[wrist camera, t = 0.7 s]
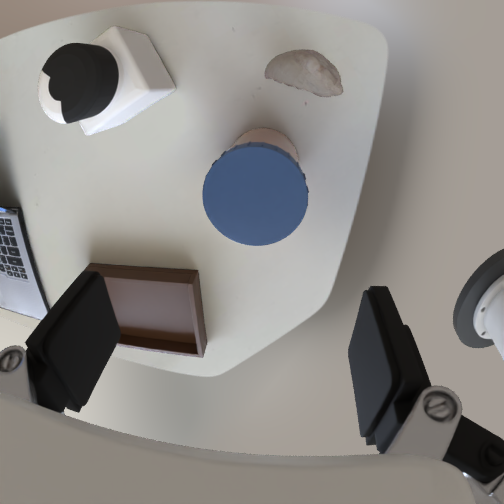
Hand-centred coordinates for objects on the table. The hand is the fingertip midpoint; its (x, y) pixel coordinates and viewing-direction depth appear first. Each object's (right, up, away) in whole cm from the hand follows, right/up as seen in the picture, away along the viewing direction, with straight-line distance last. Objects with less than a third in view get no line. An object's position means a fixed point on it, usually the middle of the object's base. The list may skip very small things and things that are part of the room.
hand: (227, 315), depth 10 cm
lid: (+1, +6, +10) cm, 12 cm away
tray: (-13, -5, +30) cm, 33 cm away
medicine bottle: (-11, +19, +16) cm, 27 cm away
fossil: (+5, +18, +15) cm, 24 cm away
